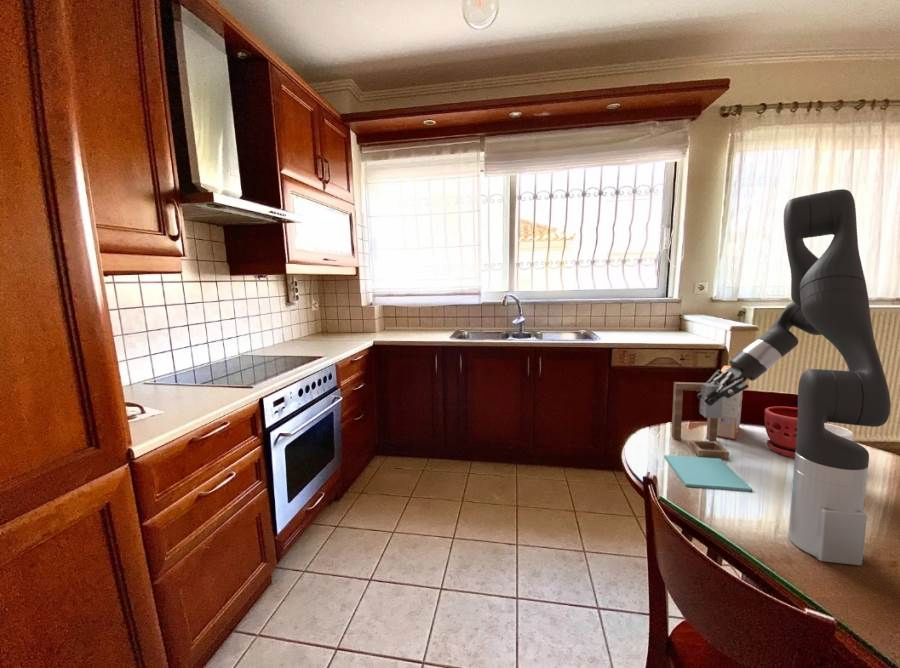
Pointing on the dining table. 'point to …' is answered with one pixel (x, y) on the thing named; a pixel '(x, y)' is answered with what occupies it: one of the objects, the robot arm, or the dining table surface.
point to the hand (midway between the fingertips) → (703, 400)
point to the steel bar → (705, 409)
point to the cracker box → (730, 415)
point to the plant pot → (782, 429)
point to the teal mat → (706, 473)
